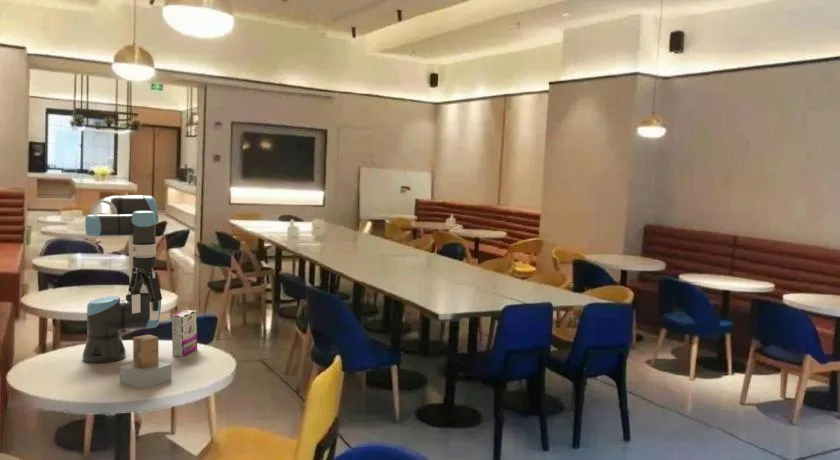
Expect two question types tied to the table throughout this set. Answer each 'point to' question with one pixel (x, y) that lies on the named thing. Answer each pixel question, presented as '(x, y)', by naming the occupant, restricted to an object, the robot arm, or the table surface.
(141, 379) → the slate base block
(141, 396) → the table surface
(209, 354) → the table surface
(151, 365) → the walnut block
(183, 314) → the candy bar box
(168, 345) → the table surface
